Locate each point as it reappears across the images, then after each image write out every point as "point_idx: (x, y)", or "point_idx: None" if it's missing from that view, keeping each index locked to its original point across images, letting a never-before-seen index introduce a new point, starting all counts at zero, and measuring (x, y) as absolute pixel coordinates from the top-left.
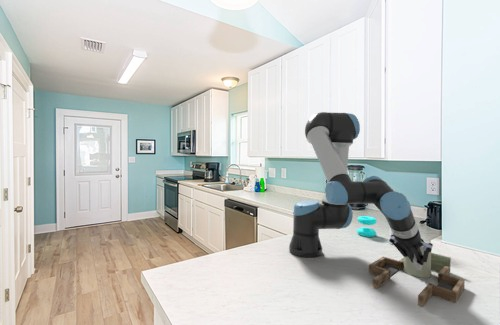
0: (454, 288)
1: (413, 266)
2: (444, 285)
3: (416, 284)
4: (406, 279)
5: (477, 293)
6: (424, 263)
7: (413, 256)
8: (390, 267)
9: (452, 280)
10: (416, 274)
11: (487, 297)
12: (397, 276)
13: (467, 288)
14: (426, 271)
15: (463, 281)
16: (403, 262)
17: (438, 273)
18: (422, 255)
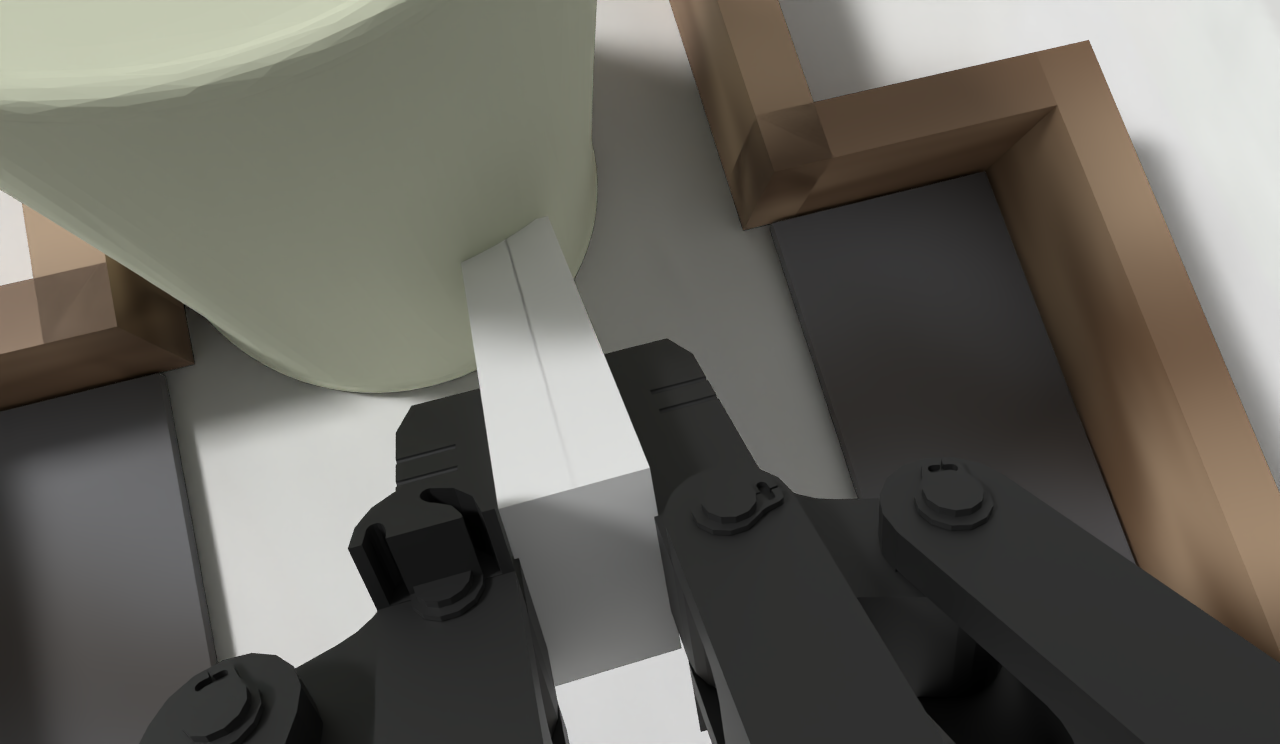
0: (1247, 539)
1: (404, 337)
2: (878, 294)
3: (659, 657)
4: None
5: (1148, 107)
6: (562, 176)
7: (543, 649)
8: (21, 469)
9: (952, 149)
10: None
11: (1249, 112)
12: None
13: None
14: (582, 206)
15: (1122, 120)
16: None
17: (778, 166)
18: (862, 598)
